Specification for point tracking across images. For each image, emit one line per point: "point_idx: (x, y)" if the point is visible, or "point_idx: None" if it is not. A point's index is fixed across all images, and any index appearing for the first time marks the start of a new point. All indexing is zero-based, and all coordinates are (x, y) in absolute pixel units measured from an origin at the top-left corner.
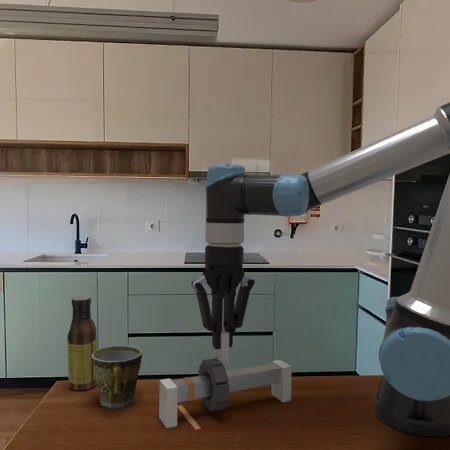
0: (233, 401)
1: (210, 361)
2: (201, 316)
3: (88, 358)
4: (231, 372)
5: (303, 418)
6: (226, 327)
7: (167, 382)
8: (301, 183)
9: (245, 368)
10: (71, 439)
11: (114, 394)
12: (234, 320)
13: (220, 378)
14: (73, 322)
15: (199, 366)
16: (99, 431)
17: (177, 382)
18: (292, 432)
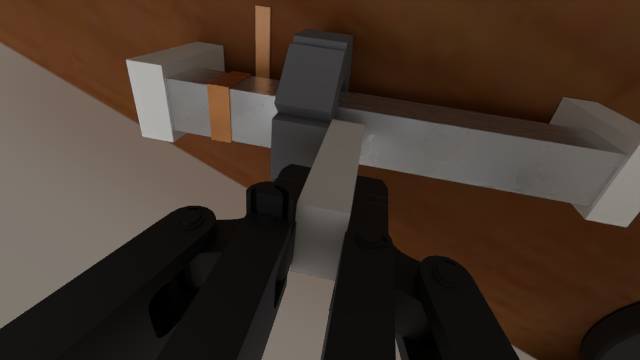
0: (422, 70)
1: (286, 147)
2: (94, 270)
3: None
4: (392, 135)
5: (488, 232)
6: (337, 274)
7: (149, 94)
8: None
9: (470, 133)
10: (11, 28)
11: None
12: (421, 315)
13: None
14: None
15: (288, 49)
16: (62, 26)
17: (183, 103)
18: (418, 248)
